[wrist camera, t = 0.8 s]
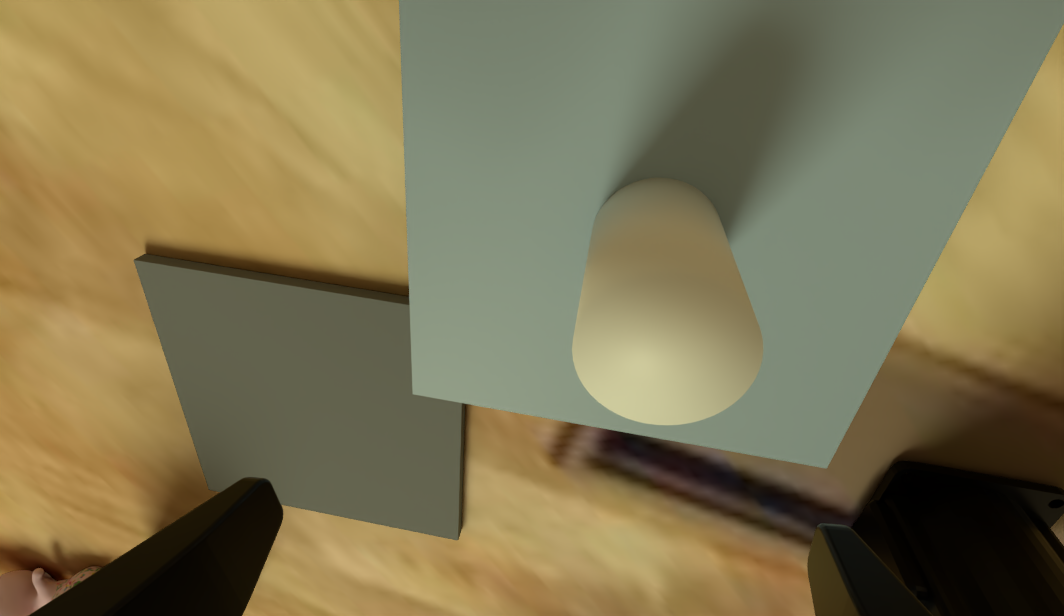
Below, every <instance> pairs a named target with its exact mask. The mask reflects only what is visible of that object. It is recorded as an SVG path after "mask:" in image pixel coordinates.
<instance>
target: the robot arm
mask: <svg viewBox="0 0 1064 616" xmlns="http://www.w3.org/2000/svg"><path fill="white" fill-rule="evenodd" d="M905 473H907V474H905ZM1063 514H1064V490H1063V489H1061V488H1058V487H1054V486H1048V485H1042V484H1037V483H1031V482H1025V481H1020V480H1014V479H1008V478H1003V477H997V476H991V475H986V474H980V473H974V472H968V471H963V470H957V469H951V468H946V467H940V466H934V465H929V464H923V463H917V462H912V461H901V462H897V463H895V464H894V465H893V466H892V467H891V468H890V469H889V471H888V473H887V474H886V476H885V478H884V479H883V481H882V482H881V484H880V486H879V487H878V489H877V490H876V492H875V494H874V495H873V497H872V498H871V500H870V502H869V503H868V504H867V506H866V507H865V509H864V510H863V512H862V514H861V515H860V517H859V518H858V520H857V522H856V523H855V525H854V527H853V528H852V529H851V528H850V527H848V526H845V525H836V524H824V523H823V524H819V525H818V526H817V527H816V530H815V533H814V537H813V541H812V545H811V549H810V552H809V556H808V577H809V582H810V588H811V593H812V599H813V604H814V610H815V616H1064V546H1063V544H1062V543H1061V542H1060V541H1059V539H1058V538H1057V537H1056V535H1055V534H1054V533H1053V531H1052V530H1051V529H1050V528H1051V527H1052V526H1053V524H1054V523H1055V522H1056V521H1057V520H1058V519H1059V518H1060V517H1061V516H1062V515H1063ZM282 520H283V508H282V506H281V504H280V501H279V499H278V497H277V495H276V492H275V490H274V488H273V486H272V484H271V482H270V481H269V480H268V479H266V478H258V477H245V478H242V479H240V480H239V481H237V482H236V483H234V484H232V485H231V486H229V487H228V488H226V489H225V490H223V491H222V492H220V493H218V494H217V495H215V496H214V497H212V498H211V499H209V500H208V501H206V502H204V503H203V504H201V505H200V506H198V507H197V508H195V509H193V510H192V511H190V512H189V513H187V514H186V515H184V516H183V517H181V518H179V519H178V520H176V521H175V522H173V523H172V524H170V525H169V526H167V527H165V528H164V529H162V530H161V531H159V532H158V533H156V534H155V535H153V536H151V537H150V538H148V539H147V540H145V541H144V542H142V543H140V544H139V545H137V546H136V547H134V548H133V549H131V550H130V551H128V552H126V553H125V554H123V555H122V556H120V557H119V558H117V559H116V560H114V561H112V562H111V563H109V564H108V565H106V566H105V567H103V568H101V569H100V570H98V571H97V572H95V573H94V574H92V575H91V576H89V577H87V578H86V579H84V580H83V581H81V582H80V583H78V584H77V585H75V586H73V587H72V588H70V589H69V590H67V591H66V592H64V593H62V594H61V595H59V596H58V597H56V598H55V599H53V600H52V601H50V602H48V603H47V604H45V605H44V606H42V607H41V608H39V609H37V610H36V611H34V612H33V613H31V614H30V615H28V616H242V615H243V613H244V611H245V609H246V606H247V604H248V602H249V600H250V598H251V595H252V593H253V591H254V588H255V586H256V584H257V581H258V579H259V576H260V574H261V572H262V569H263V567H264V564H265V562H266V560H267V557H268V555H269V552H270V550H271V548H272V545H273V543H274V541H275V538H276V536H277V533H278V531H279V529H280V526H281V523H282Z"/></svg>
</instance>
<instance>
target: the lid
mask: <svg viewBox="0 0 1064 616" xmlns="http://www.w3.org/2000/svg"><path fill="white" fill-rule="evenodd" d="M399 14H400V43H401V72H402V101H403V130H404V158H405V187H406V216H407V245H408V274H409V303H410V332H411V361H412V390H413V394H414V395H420V396H426V397H431V398H437V399H442V400H448V401H453V402H459V403H465V404H470V405H476V406H481V407H487V408H492V409H498V410H504V411H509V412H515V413H520V414H526V415H532V416H537V417H543V418H548V419H554V420H559V421H565V422H571V423H576V424H582V425H587V426H593V427H598V428H604V429H610V430H615V431H621V432H626V433H632V434H637V435H643V436H649V437H654V438H660V439H665V440H671V441H676V442H682V443H688V444H693V445H699V446H704V447H710V448H716V449H721V450H727V451H732V452H738V453H743V454H749V455H755V456H760V457H766V458H771V459H777V460H782V461H788V462H794V463H799V464H805V465H810V466H816V467H821V468H827V467H828V465H829V463H830V461H831V459H832V458H833V456H834V454H835V452H836V450H837V448H838V446H839V444H840V442H841V441H842V439H843V437H844V435H845V433H846V431H847V429H848V427H849V426H850V424H851V422H852V420H853V418H854V416H855V414H856V412H857V411H858V409H859V407H860V405H861V403H862V401H863V399H864V397H865V396H866V394H867V392H868V390H869V388H870V386H871V384H872V382H873V380H874V379H875V377H876V375H877V373H878V371H879V369H880V367H881V365H882V364H883V362H884V360H885V358H886V356H887V354H888V352H889V350H890V349H891V347H892V345H893V343H894V341H895V339H896V337H897V335H898V334H899V332H900V330H901V328H902V326H903V324H904V322H905V320H906V318H907V317H908V315H909V313H910V311H911V309H912V307H913V305H914V303H915V302H916V300H917V298H918V296H919V294H920V292H921V290H922V288H923V287H924V285H925V283H926V281H927V279H928V277H929V275H930V273H931V272H932V270H933V268H934V266H935V264H936V262H937V260H938V258H939V256H940V255H941V253H942V251H943V249H944V247H945V245H946V243H947V241H948V240H949V238H950V236H951V234H952V232H953V230H954V228H955V226H956V225H957V223H958V221H959V219H960V217H961V215H962V213H963V211H964V210H965V208H966V206H967V204H968V202H969V200H970V198H971V196H972V194H973V193H974V191H975V189H976V187H977V185H978V183H979V181H980V179H981V178H982V176H983V174H984V172H985V170H986V168H987V166H988V164H989V163H990V161H991V159H992V157H993V155H994V153H995V151H996V149H997V148H998V146H999V144H1000V142H1001V140H1002V138H1003V136H1004V134H1005V133H1006V131H1007V129H1008V127H1009V125H1010V123H1011V121H1012V119H1013V117H1014V116H1015V114H1016V112H1017V110H1018V108H1019V106H1020V104H1021V102H1022V101H1023V99H1024V97H1025V95H1026V93H1027V91H1028V89H1029V87H1030V86H1031V84H1032V82H1033V80H1034V78H1035V76H1036V74H1037V72H1038V71H1039V69H1040V67H1041V65H1042V63H1043V61H1044V59H1045V57H1046V55H1047V54H1048V52H1049V50H1050V48H1051V46H1052V44H1053V42H1054V40H1055V39H1056V37H1057V35H1058V33H1059V31H1060V29H1061V27H1062V25H1063V24H1064V0H399Z"/></svg>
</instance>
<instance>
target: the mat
mask: <svg viewBox="0 0 1064 616" xmlns="http://www.w3.org/2000/svg"><path fill="white" fill-rule="evenodd" d="M134 263H135V266H136V269H137V272H138V275H139V278H140V281H141V284H142V287H143V290H144V293H145V296H146V299H147V302H148V306H149V309H150V312H151V315H152V318H153V321H154V324H155V327H156V330H157V333H158V336H159V339H160V342H161V345H162V348H163V351H164V354H165V357H166V360H167V363H168V366H169V370H170V373H171V376H172V379H173V382H174V385H175V388H176V391H177V394H178V397H179V400H180V403H181V406H182V409H183V412H184V415H185V418H186V421H187V424H188V427H189V430H190V433H191V437H192V440H193V443H194V446H195V449H196V452H197V455H198V458H199V461H200V464H201V467H202V470H203V473H204V476H205V479H206V482H207V485H208V488H209V490H212V491H217V492H222V491H223V490H225V489H226V488H228V487H229V486H231V485H232V484H234V483H236V482H237V481H239V480H240V479H242V478H245V477H258V478H266V479H268V480H269V481H270V482H271V484H272V486H273V488H274V490H275V492H276V495H277V497H278V499H279V501H280V504H281V505H286V506H291V507H296V508H301V509H306V510H311V511H316V512H320V513H325V514H330V515H335V516H340V517H345V518H350V519H355V520H360V521H365V522H370V523H375V524H379V525H384V526H389V527H394V528H399V529H404V530H409V531H414V532H419V533H424V534H429V535H434V536H438V537H443V538H448V539H453V540H458V539H459V536H460V533H461V519H462V487H463V455H464V423H465V403H459V402H453V401H448V400H442V399H437V398H431V397H426V396H420V395H414V394H413V390H412V361H411V332H410V303H409V297H407V296H401V295H395V294H389V293H383V292H377V291H370V290H364V289H358V288H352V287H346V286H340V285H333V284H327V283H321V282H315V281H309V280H303V279H296V278H290V277H284V276H278V275H272V274H266V273H259V272H253V271H247V270H241V269H235V268H229V267H222V266H216V265H210V264H204V263H198V262H192V261H186V260H179V259H173V258H167V257H161V256H155V255H149V254H144V255H142V256H140V257H138V258H136V259H134Z"/></svg>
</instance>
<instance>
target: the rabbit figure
mask: <svg viewBox="0 0 1064 616" xmlns="http://www.w3.org/2000/svg"><path fill="white" fill-rule="evenodd" d="M101 568H102V567H99V566H92V567H88V568H86V569H84V570H82V571H80V572H79V573H77V574H76V575H74V576H73V577H71V578H70V579H66V580H60V581H57V582H56V581H55V580H54V579H53V578H52V577H51V576H50V575H49V574H47V573H46V572H44V570H43V569H42V568H37V569H35V570H34V571H33V572H32V571H29V570H18V571H12V572H8V573H5V574H2V575H1V576H0V616H28V615H30V614H31V613H33V612H34V611H36V610H37V609H39V608H41V607H42V606H44V605H45V604H47V603H48V602H50V601H52V600H53V599H55V598H56V597H58V596H59V595H61V594H62V593H64V592H66V591H67V590H69V589H70V588H72V587H73V586H75V585H77V584H78V583H80V582H81V581H83V580H84V579H86V578H87V577H89V576H91V575H92V574H94V573H95V572H97V571H98V570H100V569H101Z"/></svg>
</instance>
